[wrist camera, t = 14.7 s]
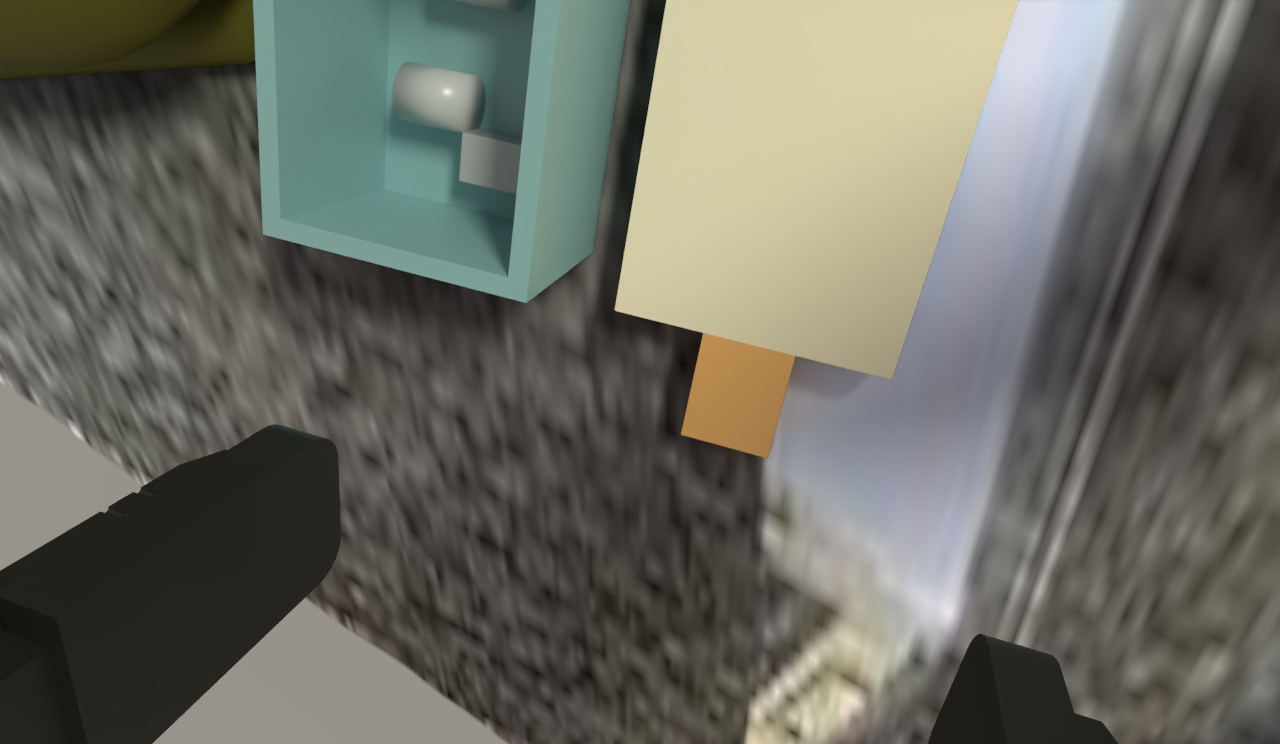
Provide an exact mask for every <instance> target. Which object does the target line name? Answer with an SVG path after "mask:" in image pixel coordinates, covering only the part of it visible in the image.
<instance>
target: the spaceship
mask: <svg viewBox="0 0 1280 744" xmlns="http://www.w3.org/2000/svg"><path fill="white" fill-rule="evenodd" d="M253 62H256V61H255V38H254V15H253V0H0V79H13V78H29V77H45V76H60V75H76V74H92V73H108V72H124V71H140V70H156V69H172V68H188V67H204V66H220V65H236V64H252V63H253Z"/></svg>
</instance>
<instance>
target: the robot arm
mask: <svg viewBox="0 0 1280 744" xmlns="http://www.w3.org/2000/svg"><path fill="white" fill-rule="evenodd" d="M340 540H341V523H340V494H339V465H338V452H337V449H336V446H335V445H334V443H333V442H332V441H330V440H329V439H326V438H322V437H319V436H316V435H312V434H309V433H305V432H302V431H299V430H295V429H292V428H288V427H285V426H282V425H270V426H267V427H265V428H263V429H262V430H260V431H258V432H257V433H255V434H253V435H252V436H250V437H249V438H247V439H245V440H244V441H242V442H240V443H239V444H237V445H236V446H234V447H232V448H231V449H229V450H223V451H220V452H217V453H214V454H211V455H208V456H205V457H202V458H199V459H196V460H193V461H190V462H186V463H183V464H180V465H178V466H176V467H175V468H173V469H171V470H170V471H168V472H166V473H165V474H163V475H161V476H160V477H158V478H156V479H155V480H153V481H151V482H149V483H148V484H146V485H144V486H143V487H141V490H140V492H139V493H138V494H137V493H134V492H133V493H131V494H129V495H128V496H126V497H124V498H122V499H121V500H119V501H117V502H116V503H114V504H112V505H111V506H109V509H108V511H107V512H106V513H103V512H99V513H97V514H95V515H94V516H92V517H90V518H89V519H87V520H85V521H84V522H82V523H80V524H79V525H77V526H75V527H74V528H72V529H70V530H68V531H67V532H65V533H64V534H62V535H60V536H58V537H57V538H55V539H53V540H52V541H50V542H48V543H46V544H45V545H43V546H41V547H40V548H38V549H36V550H35V551H33V552H31V553H30V554H28V555H26V556H25V557H23V558H21V559H19V560H18V561H16V562H14V563H13V564H11V565H9V566H8V567H6V568H4V569H3V570H1V571H0V744H152V743H153V742H154V741H155V740H156V739H157V738H158V737H160V736H161V735H162V734H163V733H164V732H165V731H166V730H167V729H168V728H169V727H170V726H171V725H172V724H173V723H174V722H175V721H176V720H177V719H178V718H179V717H180V716H181V715H183V714H184V713H185V712H186V711H187V710H188V709H189V708H190V707H191V706H192V705H193V704H194V703H195V702H196V701H197V700H198V699H199V698H200V697H201V696H202V695H203V694H205V693H206V692H207V691H208V690H209V689H210V688H211V687H212V686H213V685H214V684H215V683H216V682H217V681H218V680H219V679H220V678H221V677H222V676H223V675H224V674H226V673H227V672H228V670H230V669H231V668H232V667H233V666H234V665H235V664H236V663H237V662H238V661H239V660H240V659H241V658H242V657H243V656H244V655H245V654H246V653H247V652H248V651H249V650H251V649H252V648H253V647H254V646H255V645H256V644H257V643H258V642H259V641H260V640H261V639H262V638H263V637H264V636H265V635H266V634H267V633H268V632H269V631H270V630H271V629H272V628H274V626H276V625H277V624H278V623H279V622H280V621H281V620H282V619H283V618H284V617H285V616H286V615H287V614H288V613H289V612H290V611H291V610H292V609H294V608H295V607H296V606H297V605H298V604H299V603H300V602H301V601H302V600H303V599H304V598H305V597H306V596H307V595H308V594H309V593H310V592H311V591H312V590H313V589H314V588H316V587H317V586H318V585H319V584H320V583H321V581H322V580H323V579H324V578H325V577H326V575H327V574H328V572H329V571H330V569H331V567H332V565H333V563H334V561H335V559H336V556H337V553H338V550H339V546H340ZM928 744H1118V743H1117V741H1116V740H1115V739H1114V737H1113V736H1112V735H1111V733H1110V732H1109V731H1108V729H1107V728H1106V727H1105V725H1104V724H1103V723H1102V722H1101V721H1097V720H1094V719H1091V718H1088V717H1084V716H1081V715H1078V714H1075V713H1074V711H1073V707H1072V704H1071V701H1070V697H1069V694H1068V691H1067V687H1066V684H1065V681H1064V677H1063V674H1062V671H1061V668H1060V665H1059V663H1058V661H1057V659H1056V658H1055V657H1054V656H1053V655H1050V654H1047V653H1044V652H1040V651H1037V650H1034V649H1030V648H1027V647H1023V646H1020V645H1017V644H1013V643H1010V642H1006V641H1003V640H1000V639H996V638H993V637H990V636H986V635H983V634H978V635H977V636H975V637H974V638H973V640H972V641H971V643H970V645H969V647H968V649H967V651H966V653H965V656H964V658H963V660H962V663H961V665H960V667H959V669H958V672H957V674H956V676H955V679H954V681H953V683H952V686H951V688H950V690H949V693H948V695H947V697H946V699H945V702H944V704H943V706H942V709H941V711H940V713H939V716H938V718H937V720H936V723H935V725H934V727H933V730H932V732H931V736H930V739H929V743H928Z"/></svg>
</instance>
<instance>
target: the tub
mask: <svg viewBox="0 0 1280 744" xmlns="http://www.w3.org/2000/svg"><path fill="white" fill-rule="evenodd" d="M630 3H631V0H253V15H254V38H255V61H256V84H257V107H258V130H259V153H260V176H261V199H262V223H263V235H267V236H271V237H275V238H279V239H283V240H286V241H290V242H294V243H298V244H302V245H306V246H309V247H313V248H317V249H321V250H325V251H329V252H332V253H336V254H340V255H344V256H348V257H352V258H355V259H359V260H363V261H367V262H371V263H375V264H378V265H382V266H386V267H390V268H394V269H398V270H401V271H405V272H409V273H413V274H417V275H421V276H424V277H428V278H432V279H436V280H440V281H444V282H447V283H451V284H455V285H459V286H463V287H467V288H470V289H474V290H478V291H482V292H486V293H490V294H493V295H497V296H501V297H505V298H509V299H513V300H516V301H520V302H524V303H527V302H528V301H530V300H531V299H532V298H534V297H535V296H536V295H538V294H539V293H540V292H541V291H543V290H544V289H545V288H547V287H548V286H549V285H551V284H552V283H553V282H554V281H556V280H557V279H558V278H560V277H561V276H562V275H564V274H565V273H566V272H568V271H569V270H570V269H571V268H573V267H574V266H575V265H577V264H578V263H579V262H581V261H582V260H583V259H585V258H586V257H587V256H588V255H590V254H591V253H592V252H593V251H594V245H595V238H596V231H597V224H598V218H599V211H600V204H601V198H602V191H603V184H604V178H605V171H606V164H607V157H608V151H609V144H610V137H611V131H612V124H613V117H614V111H615V104H616V97H617V90H618V84H619V77H620V70H621V64H622V57H623V50H624V44H625V37H626V30H627V23H628V17H629V10H630Z"/></svg>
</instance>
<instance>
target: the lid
mask: <svg viewBox="0 0 1280 744" xmlns="http://www.w3.org/2000/svg"><path fill="white" fill-rule="evenodd" d="M1018 1H1019V0H666V6H665V12H664V18H663V24H662V30H661V36H660V42H659V48H658V53H657V59H656V65H655V71H654V77H653V83H652V89H651V95H650V101H649V107H648V113H647V119H646V125H645V131H644V137H643V143H642V149H641V155H640V161H639V167H638V173H637V179H636V185H635V191H634V197H633V203H632V209H631V215H630V221H629V227H628V233H627V239H626V245H625V251H624V257H623V263H622V269H621V275H620V281H619V287H618V293H617V299H616V305H615V311H618V312H622V313H626V314H630V315H634V316H638V317H642V318H646V319H650V320H654V321H658V322H662V323H666V324H670V325H674V326H678V327H682V328H686V329H690V330H694V331H698V332H702V333H703V336H702V341H701V345H700V350H699V354H698V359H697V363H696V368H695V372H694V377H693V382H692V386H691V391H690V395H689V400H688V404H687V409H686V414H685V418H684V423H683V427H682V432H681V435H684V436H688V437H691V438H695V439H699V440H702V441H706V442H710V443H713V444H717V445H720V446H724V447H728V448H731V449H735V450H739V451H742V452H746V453H750V454H753V455H757V456H761V457H764V458H768V454H769V451H770V447H771V443H772V440H773V436H774V433H775V429H776V425H777V422H778V418H779V414H780V411H781V407H782V403H783V400H784V396H785V392H786V389H787V385H788V382H789V378H790V374H791V371H792V367H793V363H794V360H795V356H798V357H802V358H806V359H810V360H814V361H818V362H822V363H826V364H830V365H834V366H838V367H842V368H846V369H850V370H854V371H858V372H862V373H866V374H870V375H874V376H878V377H882V378H886V379H890V380H892V378H893V375H894V372H895V369H896V366H897V363H898V360H899V357H900V354H901V351H902V348H903V345H904V342H905V339H906V336H907V333H908V330H909V327H910V324H911V321H912V318H913V315H914V312H915V309H916V306H917V303H918V300H919V297H920V294H921V291H922V288H923V285H924V282H925V279H926V276H927V273H928V270H929V267H930V264H931V261H932V258H933V255H934V252H935V249H936V246H937V243H938V240H939V237H940V234H941V231H942V228H943V225H944V222H945V219H946V216H947V213H948V210H949V207H950V204H951V201H952V198H953V195H954V192H955V189H956V186H957V183H958V180H959V177H960V174H961V171H962V168H963V165H964V162H965V159H966V156H967V153H968V150H969V147H970V145H971V142H972V139H973V136H974V133H975V130H976V127H977V124H978V121H979V118H980V115H981V112H982V109H983V106H984V103H985V100H986V97H987V94H988V91H989V88H990V85H991V82H992V79H993V76H994V73H995V70H996V67H997V64H998V61H999V58H1000V55H1001V52H1002V49H1003V46H1004V43H1005V40H1006V37H1007V34H1008V31H1009V28H1010V25H1011V22H1012V19H1013V16H1014V13H1015V10H1016V7H1017V4H1018Z"/></svg>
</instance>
